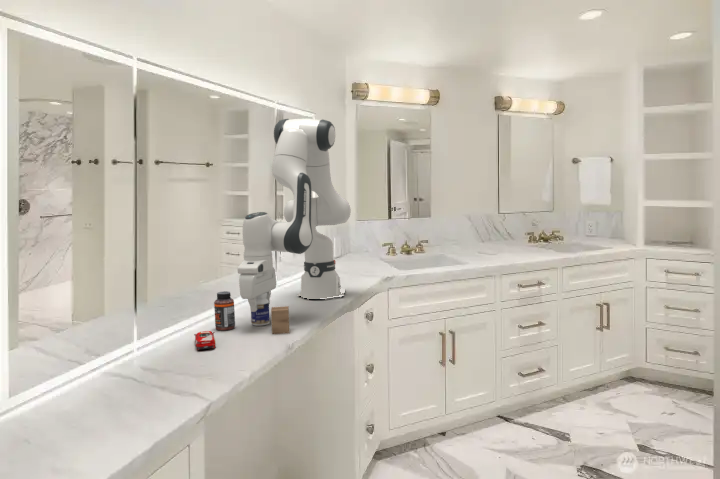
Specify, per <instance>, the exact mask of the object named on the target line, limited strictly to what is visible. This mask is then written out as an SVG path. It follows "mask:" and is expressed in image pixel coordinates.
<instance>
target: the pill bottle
mask: <svg viewBox="0 0 720 479" xmlns="http://www.w3.org/2000/svg"><path fill="white" fill-rule="evenodd" d="M266 297H267V293H264V294H262V295H260V296H257V297H256V305H258V310H257V311H255V312H251V311H250V319H251V320H250V321H251V325H252V326H256V327H262V326H267V325H269V324H270V322H271V321H270V304H269V301H268V300H267V299H266Z"/></svg>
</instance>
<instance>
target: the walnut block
mask: <svg viewBox="0 0 720 479" xmlns="http://www.w3.org/2000/svg"><path fill="white" fill-rule="evenodd" d="M289 308H290V307H289V306H286V305H285V306H272V307H271V309H270V316H271V321H270V322H271V333H272V335H278V334H279V335H282V334H290V309H289Z"/></svg>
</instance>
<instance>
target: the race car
mask: <svg viewBox="0 0 720 479" xmlns="http://www.w3.org/2000/svg"><path fill="white" fill-rule="evenodd" d="M215 334H216V332H215V331H214V332H213V331H211V330H205V331H199V332H197V333H195V334H194V335H193V336H194V338H195V340H194V342H195V349H196V350H199V351H200V350H207V349H209V350H210V349H215V348H217V346H216V345H217V344H216V338H215Z"/></svg>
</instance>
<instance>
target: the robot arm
mask: <svg viewBox="0 0 720 479" xmlns="http://www.w3.org/2000/svg"><path fill="white" fill-rule="evenodd" d="M335 128H336V127H335V126H334V124H333V123H332V122H331V121H329V120H326V119H323V118H322V119H316V118H310V117H309V118H293V119H289V118H283V119H280V120H279V121H277V123H276V124H275V125H274V128H273V139H274V142H275V144H276V145H275V150H274V154H273V155H274V156H273V159H272V164H271V165H272V166H271V167H272V168H271V172H272V176H273V178H274V180H275V181H276V182H277V183H279V185H281V186H283V187H286V188H287V189H289V190H290V191H291V192H292V195H293V199H290V200H287V202H286V203H285V205H284V208H283V216H284V219H285V221H278V220H276V219H274V218H272V217H271V216H269V213H268V212H266V211H258V212H252V213H249V214H247V215H246V216H245V217H244V218H243V223H242V243H243V247H244V252H243V260H242V262H241V263H240V264H239V265H238V266H237V274H238V275H239V277H238V278H239V279H238V282H239V283H238V284H239V294H240V297H241V299H242V300H247V301H248V304H249V306H250V313H251V312H255V311H257V310H258V305H256V297H257V296H260V295H262V294H264V293H267V297H266V299H267V300H268V301H269V305H270V303H271V302H270V301H271V296H272V291H273V290H275V289H276V288H277V276H276V270H275V267H274V265H273V252H279V253H292V254H297V255H301V254H304V261H303V270H304V273H303V274H302V275H301V277H300V292H299V293H297V297H298V296H301V297H300V298H302V297H303V298H302V299H304V298H307V299H306V300H309V299H320V298H327V297H333V296H339V295H344V293H342V294H341V292H340V289H341V288H342V287H341V277H340V276H339V274H338V273H337V271H336V262H337V261H336V260H335V259H334V248H333V247H334V243H333V241H332V240H331V238H330V237H328V236H327V235H325V234H323V233H320V232H319V231H318V230H317V229H316V228H317V227H318V226H321V227H322V226H337V225H342V224H344V223H347V222H348V220H349V219H350V216H351V211H352V210H351V209H352V208H351V205H350V203H349V202H348V201H347V199H346V198H344V197H343V196H341V195H340V194H339V193H338V192H337V190H336V189H335V187H334V185H333V183H332V182H333V181H332V177H331V176H332V175H331V167H330V166H331V165H330V152H329V150H330V149H331V148H332V147H333V146H334V145H335V141H336V129H335ZM312 192H314V193H315V194H316V195H317V197H312ZM344 296H345V295H344Z"/></svg>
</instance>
